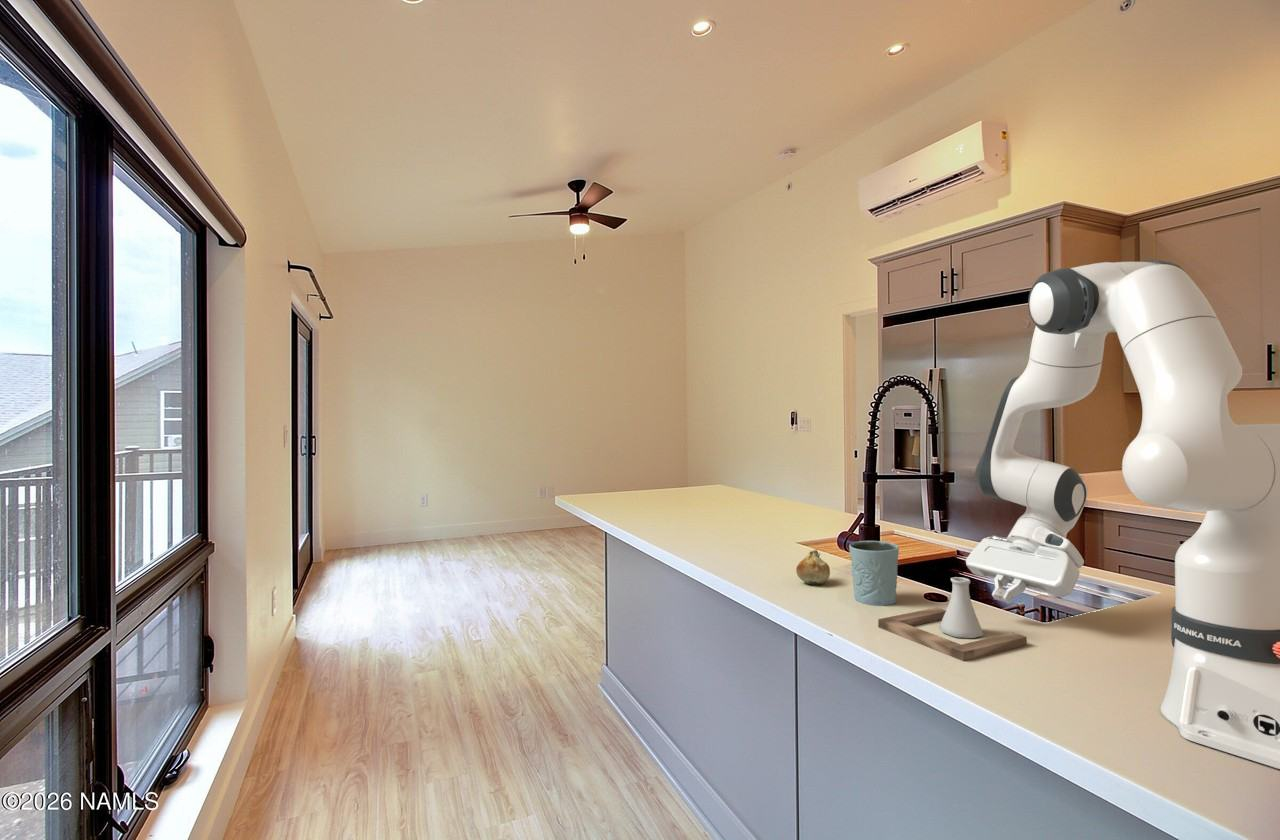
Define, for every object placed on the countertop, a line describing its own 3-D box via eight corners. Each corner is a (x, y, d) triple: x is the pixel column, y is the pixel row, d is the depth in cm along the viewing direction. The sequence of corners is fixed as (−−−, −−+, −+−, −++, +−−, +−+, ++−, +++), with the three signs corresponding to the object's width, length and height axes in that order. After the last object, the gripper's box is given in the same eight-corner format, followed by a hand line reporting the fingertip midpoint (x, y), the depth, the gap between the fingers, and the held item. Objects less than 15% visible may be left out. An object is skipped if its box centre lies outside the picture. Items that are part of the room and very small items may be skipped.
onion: (790, 581, 159) (789, 548, 159) (820, 578, 161) (819, 546, 161) (805, 589, 152) (804, 555, 152) (836, 586, 154) (835, 552, 154)
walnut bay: (1026, 645, 114) (1026, 636, 114) (963, 661, 108) (963, 651, 108) (937, 614, 131) (937, 607, 131) (878, 626, 125) (878, 619, 125)
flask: (991, 638, 118) (991, 583, 118) (953, 640, 117) (953, 585, 117) (967, 625, 125) (967, 573, 125) (931, 627, 124) (931, 575, 124)
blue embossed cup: (902, 596, 145) (901, 542, 144) (896, 609, 136) (896, 552, 135) (854, 591, 149) (853, 539, 149) (846, 603, 140) (845, 548, 140)
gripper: (979, 524, 138) (946, 576, 134) (1078, 542, 119) (1043, 603, 115) (993, 543, 140) (961, 595, 136) (1093, 564, 121) (1060, 624, 117)
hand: (1000, 599), depth 126 cm, fingers closed
